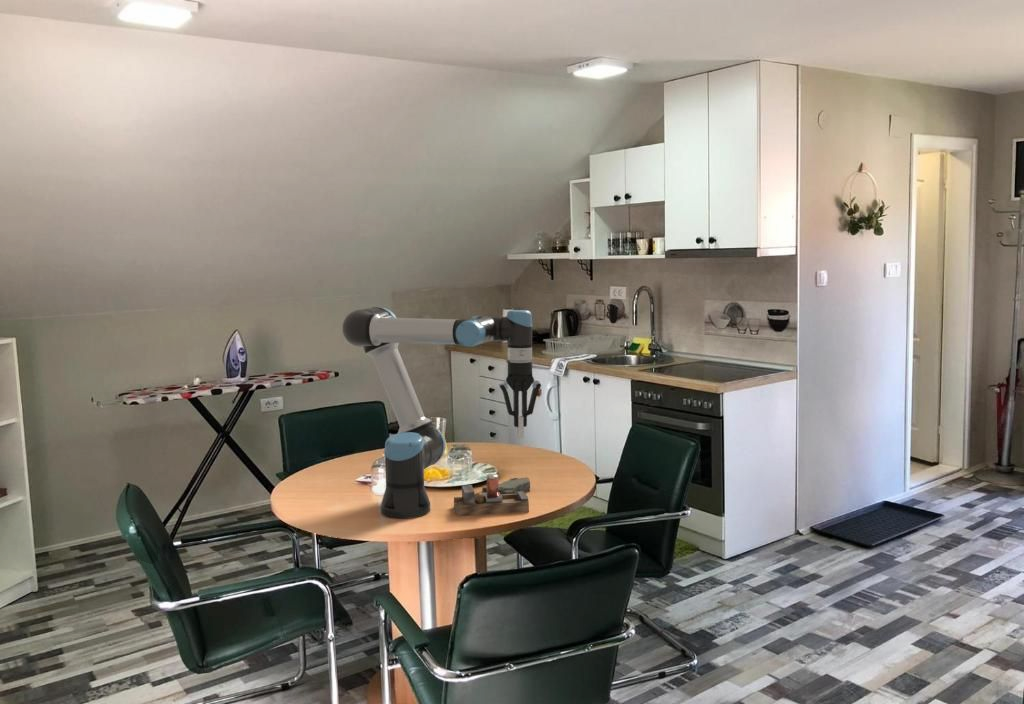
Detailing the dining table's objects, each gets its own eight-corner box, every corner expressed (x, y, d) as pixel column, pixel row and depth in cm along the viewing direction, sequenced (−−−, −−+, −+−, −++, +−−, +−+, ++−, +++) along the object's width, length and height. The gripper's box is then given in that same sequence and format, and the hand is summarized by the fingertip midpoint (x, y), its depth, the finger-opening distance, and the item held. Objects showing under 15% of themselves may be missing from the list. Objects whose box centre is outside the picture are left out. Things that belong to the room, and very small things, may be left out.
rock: (534, 498, 272) (534, 484, 271) (484, 501, 270) (484, 487, 269) (529, 488, 283) (529, 474, 283) (482, 491, 282) (481, 477, 281)
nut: (474, 506, 256) (473, 495, 256) (473, 503, 260) (471, 491, 259) (486, 504, 257) (484, 493, 256) (484, 501, 260) (483, 490, 260)
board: (457, 516, 253) (456, 493, 252) (453, 507, 262) (453, 485, 261) (528, 512, 256) (528, 489, 255) (523, 502, 266) (523, 481, 265)
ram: (486, 505, 255) (485, 478, 254) (483, 499, 262) (483, 472, 261) (502, 504, 256) (502, 477, 255) (499, 498, 263) (498, 472, 262)
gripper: (500, 363, 251) (501, 440, 253) (543, 362, 253) (543, 438, 255) (496, 360, 258) (497, 435, 261) (538, 358, 260) (538, 433, 263)
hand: (520, 437), depth 258 cm, fingers closed
